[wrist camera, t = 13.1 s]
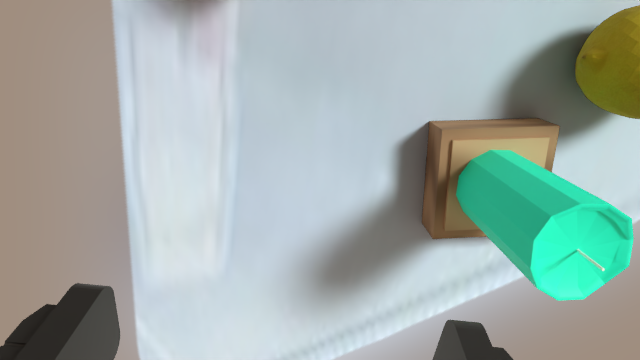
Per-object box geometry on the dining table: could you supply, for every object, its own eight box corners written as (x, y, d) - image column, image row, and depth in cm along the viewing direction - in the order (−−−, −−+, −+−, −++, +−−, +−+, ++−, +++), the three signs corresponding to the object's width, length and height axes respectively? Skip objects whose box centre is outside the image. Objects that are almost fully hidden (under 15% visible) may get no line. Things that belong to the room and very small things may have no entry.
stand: (429, 121, 34) (443, 130, 31) (537, 118, 34) (561, 126, 31) (421, 222, 37) (433, 240, 34) (521, 218, 37) (541, 235, 34)
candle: (460, 228, 33) (547, 330, 22) (451, 159, 31) (542, 231, 20) (533, 211, 33) (658, 303, 22) (529, 140, 31) (665, 202, 20)
